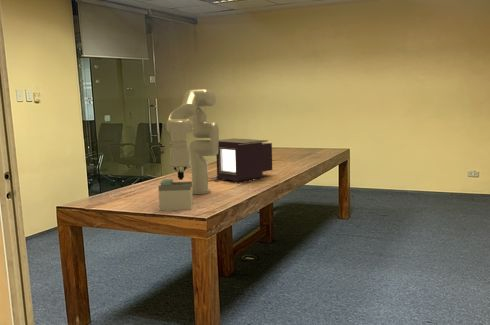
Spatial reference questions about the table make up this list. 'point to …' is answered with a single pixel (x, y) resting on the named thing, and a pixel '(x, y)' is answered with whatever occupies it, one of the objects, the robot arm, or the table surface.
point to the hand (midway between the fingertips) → (181, 179)
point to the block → (176, 196)
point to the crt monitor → (243, 159)
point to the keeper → (167, 182)
